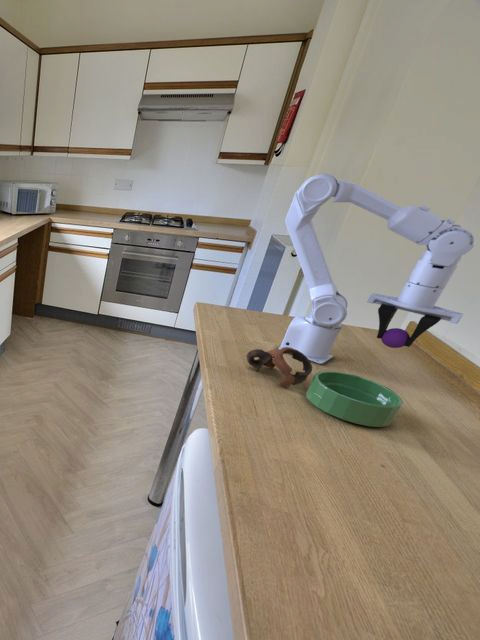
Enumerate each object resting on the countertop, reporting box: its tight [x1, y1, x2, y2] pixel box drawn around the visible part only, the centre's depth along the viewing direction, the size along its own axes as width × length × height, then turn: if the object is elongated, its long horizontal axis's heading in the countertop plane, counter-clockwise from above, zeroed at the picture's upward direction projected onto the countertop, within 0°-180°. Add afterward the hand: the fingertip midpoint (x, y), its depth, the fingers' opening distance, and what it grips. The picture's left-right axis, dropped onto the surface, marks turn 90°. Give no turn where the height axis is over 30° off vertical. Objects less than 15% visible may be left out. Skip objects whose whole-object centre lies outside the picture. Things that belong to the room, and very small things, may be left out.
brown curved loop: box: [246, 347, 313, 388], centre depth 91 cm, size 12×10×8 cm
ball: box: [380, 327, 411, 349], centre depth 93 cm, size 4×4×4 cm
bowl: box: [305, 370, 404, 428], centre depth 81 cm, size 13×13×5 cm
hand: (393, 341), depth 93 cm, fingers closed on ball, 4 cm apart
